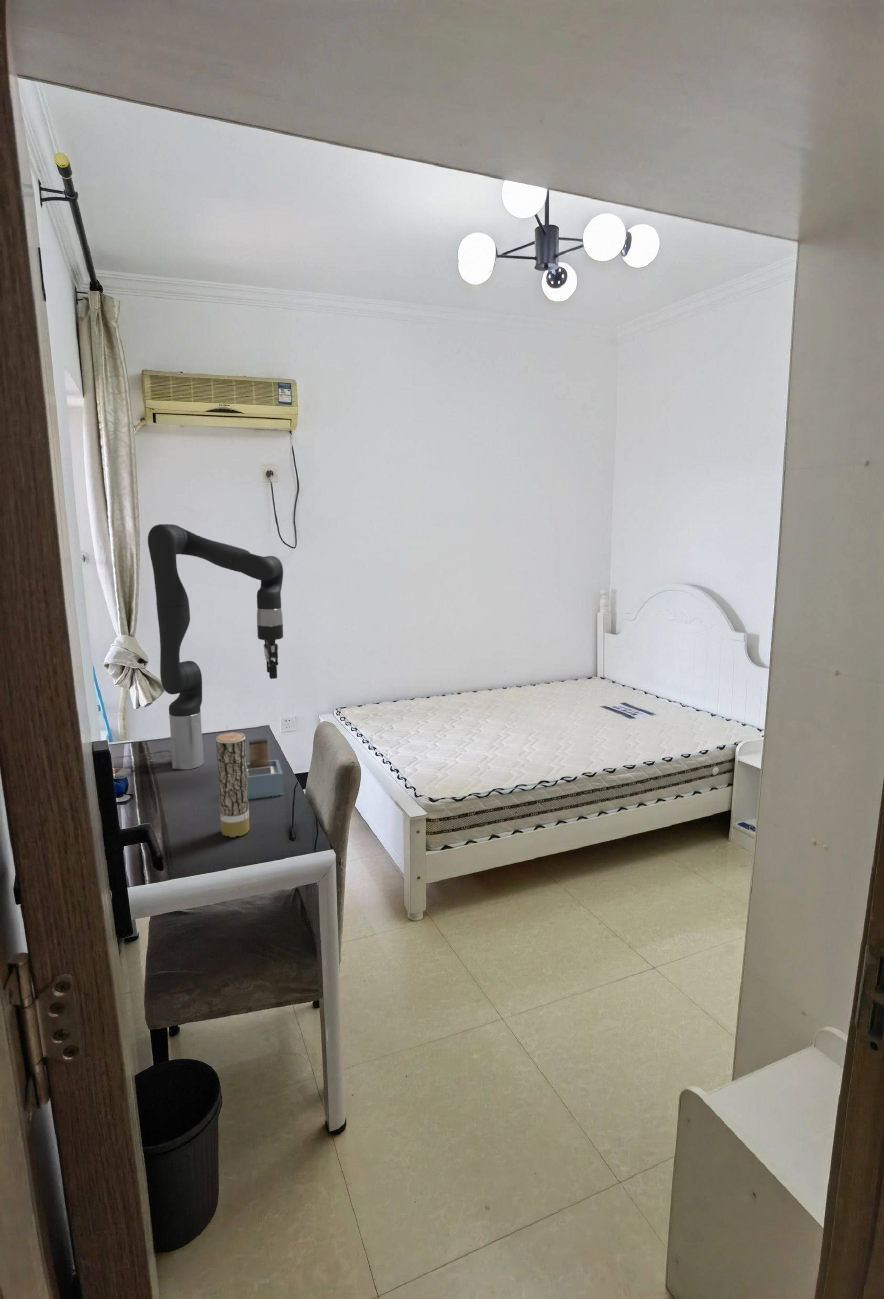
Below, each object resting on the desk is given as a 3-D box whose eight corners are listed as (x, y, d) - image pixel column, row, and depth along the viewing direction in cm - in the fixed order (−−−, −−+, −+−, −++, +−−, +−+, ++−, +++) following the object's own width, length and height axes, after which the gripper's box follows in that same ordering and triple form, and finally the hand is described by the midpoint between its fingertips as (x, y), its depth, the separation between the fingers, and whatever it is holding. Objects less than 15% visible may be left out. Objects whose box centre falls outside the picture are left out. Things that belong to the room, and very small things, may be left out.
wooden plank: (250, 775, 195) (249, 742, 193) (250, 773, 197) (248, 740, 195) (268, 773, 197) (267, 740, 195) (268, 771, 198) (266, 738, 197)
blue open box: (239, 800, 190) (238, 775, 189) (237, 784, 201) (236, 760, 200) (283, 795, 194) (282, 770, 193) (279, 780, 205) (278, 756, 204)
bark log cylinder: (224, 840, 166) (218, 742, 162) (219, 829, 172) (213, 734, 168) (252, 835, 170) (247, 738, 165) (246, 824, 176) (241, 731, 171)
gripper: (255, 620, 211) (257, 671, 214) (258, 627, 198) (261, 681, 201) (280, 619, 214) (281, 669, 217) (285, 625, 200) (287, 679, 203)
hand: (272, 675), depth 209 cm, fingers open, 8 cm apart
